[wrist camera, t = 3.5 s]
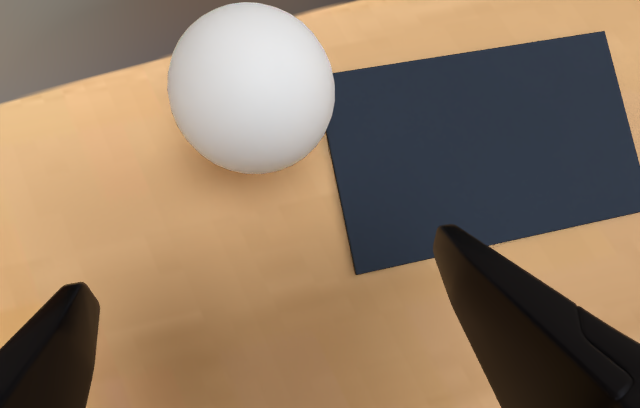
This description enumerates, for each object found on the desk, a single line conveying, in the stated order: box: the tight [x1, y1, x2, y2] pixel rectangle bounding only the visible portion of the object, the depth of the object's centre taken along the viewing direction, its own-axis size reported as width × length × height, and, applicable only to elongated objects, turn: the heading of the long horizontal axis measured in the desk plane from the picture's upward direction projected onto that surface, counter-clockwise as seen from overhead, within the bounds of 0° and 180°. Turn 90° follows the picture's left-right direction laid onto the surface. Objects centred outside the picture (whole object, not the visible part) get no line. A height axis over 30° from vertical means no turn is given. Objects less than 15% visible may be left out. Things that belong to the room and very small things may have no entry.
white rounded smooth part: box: [167, 2, 335, 174], centre depth 17 cm, size 6×6×11 cm
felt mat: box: [326, 31, 640, 275], centre depth 24 cm, size 20×12×1 cm, turn 102°
